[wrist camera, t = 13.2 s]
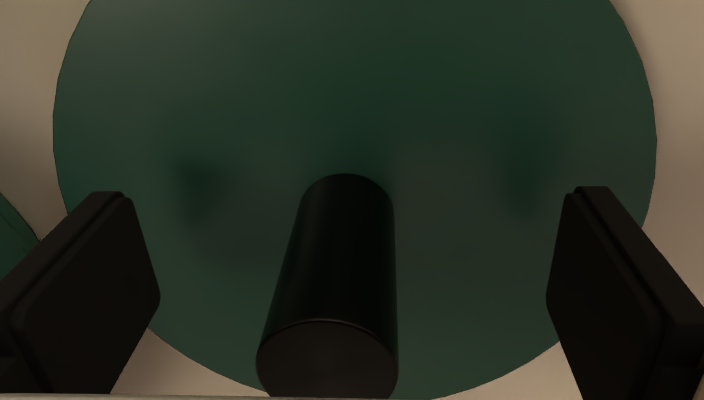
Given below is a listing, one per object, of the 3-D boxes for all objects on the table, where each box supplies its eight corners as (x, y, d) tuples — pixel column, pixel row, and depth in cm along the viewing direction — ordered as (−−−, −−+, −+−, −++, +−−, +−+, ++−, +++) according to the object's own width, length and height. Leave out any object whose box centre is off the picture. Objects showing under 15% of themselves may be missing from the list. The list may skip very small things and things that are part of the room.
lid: (718, -151, 10) (1133, -221, 4) (578, 383, 17) (667, 601, 12) (-18, -109, 11) (-422, -124, 5) (151, 376, 18) (54, 574, 13)
